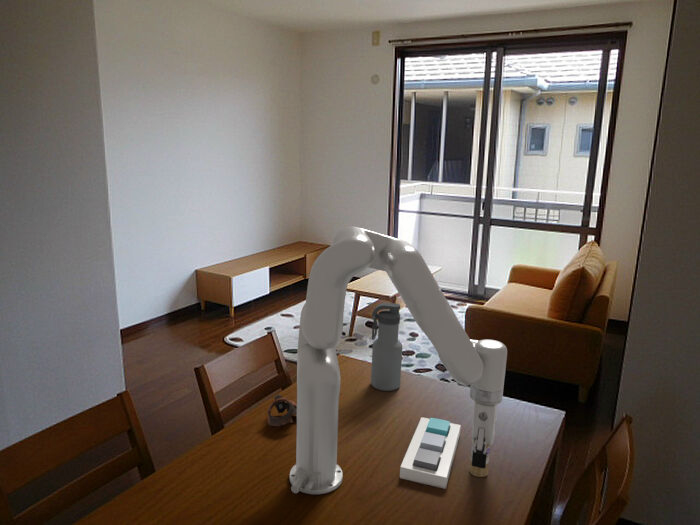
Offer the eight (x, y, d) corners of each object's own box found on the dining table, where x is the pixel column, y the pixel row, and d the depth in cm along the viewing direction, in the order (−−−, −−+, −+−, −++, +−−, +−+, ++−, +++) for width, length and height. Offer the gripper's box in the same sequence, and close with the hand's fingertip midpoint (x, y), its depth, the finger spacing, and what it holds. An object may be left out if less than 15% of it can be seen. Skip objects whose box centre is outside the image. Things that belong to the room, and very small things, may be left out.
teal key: (446, 439, 137) (446, 431, 137) (426, 435, 139) (426, 426, 138) (449, 429, 142) (450, 421, 142) (429, 425, 144) (430, 417, 143)
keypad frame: (445, 489, 120) (446, 477, 120) (399, 477, 124) (400, 466, 123) (459, 434, 143) (460, 425, 143) (420, 426, 147) (421, 417, 146)
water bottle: (366, 389, 168) (370, 307, 162) (372, 377, 178) (376, 298, 172) (398, 393, 166) (403, 310, 160) (401, 380, 176) (406, 301, 169)
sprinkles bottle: (485, 480, 124) (490, 429, 121) (466, 473, 126) (471, 423, 123) (490, 470, 128) (495, 420, 125) (471, 464, 130) (476, 415, 127)
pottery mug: (309, 426, 146) (300, 409, 141) (280, 445, 144) (270, 428, 139) (292, 398, 155) (284, 381, 150) (265, 416, 153) (255, 399, 148)
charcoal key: (435, 474, 122) (436, 464, 122) (413, 468, 124) (413, 459, 124) (439, 461, 127) (440, 452, 127) (417, 456, 129) (418, 447, 129)
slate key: (441, 455, 130) (442, 446, 129) (420, 451, 132) (420, 442, 131) (444, 444, 135) (445, 436, 134) (424, 440, 137) (424, 431, 136)
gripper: (500, 411, 113) (492, 484, 117) (504, 380, 129) (497, 445, 133) (465, 405, 116) (459, 477, 120) (474, 375, 131) (467, 439, 135)
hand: (479, 460), depth 126 cm, fingers closed on sprinkles bottle, 4 cm apart
